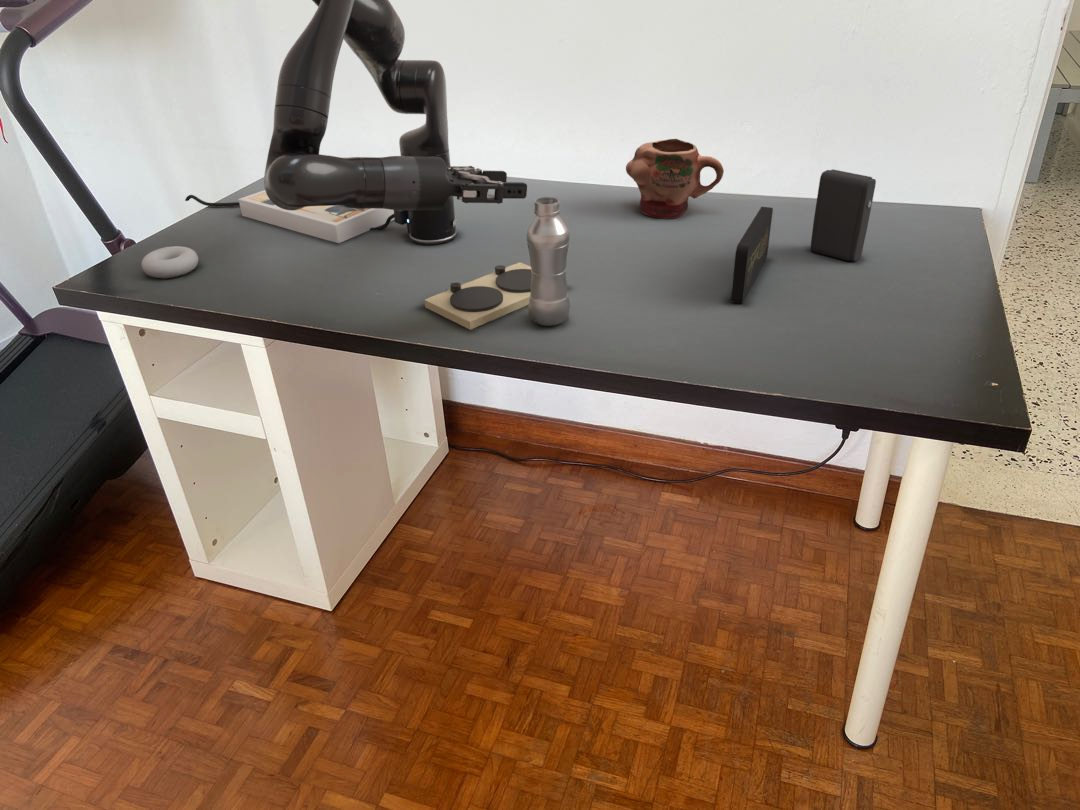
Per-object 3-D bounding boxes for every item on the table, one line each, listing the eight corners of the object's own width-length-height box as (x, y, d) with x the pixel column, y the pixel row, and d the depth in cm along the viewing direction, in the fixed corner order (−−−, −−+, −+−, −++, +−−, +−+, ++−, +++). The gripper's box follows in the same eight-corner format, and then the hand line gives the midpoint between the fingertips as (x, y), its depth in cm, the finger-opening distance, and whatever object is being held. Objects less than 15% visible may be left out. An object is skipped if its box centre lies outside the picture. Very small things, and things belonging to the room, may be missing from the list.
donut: (176, 284, 153) (211, 262, 161) (171, 267, 151) (207, 245, 159) (132, 278, 156) (168, 257, 164) (126, 261, 154) (163, 240, 162)
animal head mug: (721, 204, 180) (727, 138, 172) (718, 224, 170) (724, 155, 162) (628, 199, 184) (630, 135, 177) (620, 219, 174) (621, 151, 167)
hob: (425, 307, 141) (423, 292, 140) (520, 269, 154) (519, 255, 152) (470, 330, 134) (469, 314, 133) (566, 288, 146) (566, 274, 145)
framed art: (335, 225, 165) (238, 198, 181) (338, 243, 167) (242, 215, 183) (439, 183, 186) (343, 162, 201) (440, 199, 188) (346, 178, 203)
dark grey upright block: (864, 257, 154) (880, 176, 146) (854, 264, 151) (869, 182, 143) (818, 245, 159) (830, 166, 151) (807, 252, 157) (819, 172, 149)
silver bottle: (527, 313, 138) (522, 194, 128) (568, 311, 139) (566, 192, 128) (530, 331, 133) (525, 209, 122) (572, 329, 133) (571, 206, 122)
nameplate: (741, 305, 138) (748, 248, 133) (730, 303, 139) (736, 246, 134) (766, 258, 155) (773, 206, 149) (756, 257, 155) (762, 204, 150)
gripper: (424, 166, 113) (535, 168, 120) (398, 147, 125) (501, 150, 131) (423, 221, 117) (531, 220, 123) (398, 198, 128) (497, 198, 134)
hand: (515, 184), depth 127 cm, fingers open, 8 cm apart
